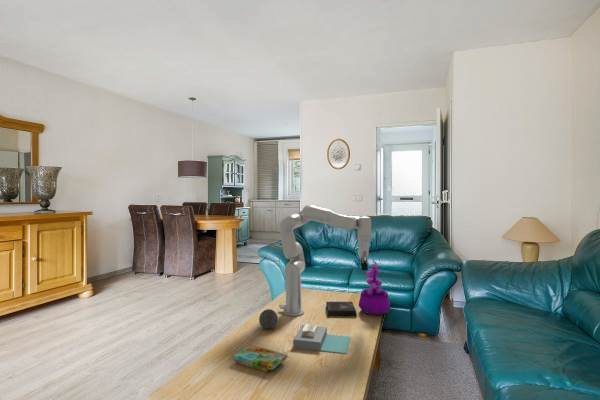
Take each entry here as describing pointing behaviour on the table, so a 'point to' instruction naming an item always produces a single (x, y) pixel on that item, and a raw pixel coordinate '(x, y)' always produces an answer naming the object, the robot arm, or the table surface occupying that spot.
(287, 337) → the table surface
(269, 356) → the puzzle game
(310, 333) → the tile
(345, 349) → the mat
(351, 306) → the portable cd player
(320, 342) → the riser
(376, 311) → the decorative plant
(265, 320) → the decorative ball
